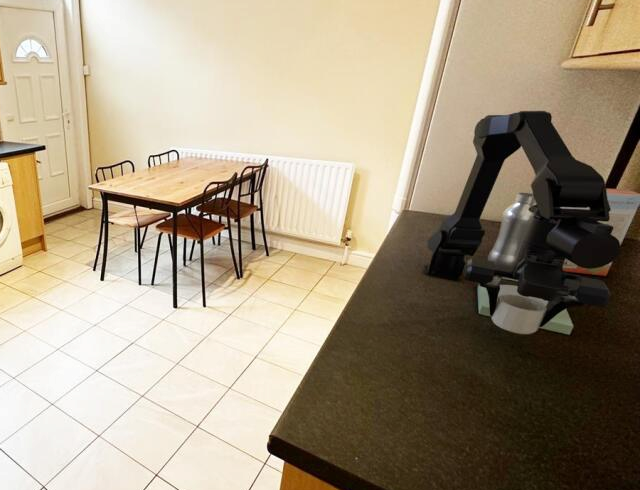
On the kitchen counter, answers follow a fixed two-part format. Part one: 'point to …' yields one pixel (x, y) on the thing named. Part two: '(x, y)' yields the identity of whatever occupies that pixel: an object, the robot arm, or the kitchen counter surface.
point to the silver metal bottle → (512, 232)
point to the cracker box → (612, 224)
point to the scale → (556, 324)
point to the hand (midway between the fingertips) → (514, 320)
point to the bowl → (518, 313)
